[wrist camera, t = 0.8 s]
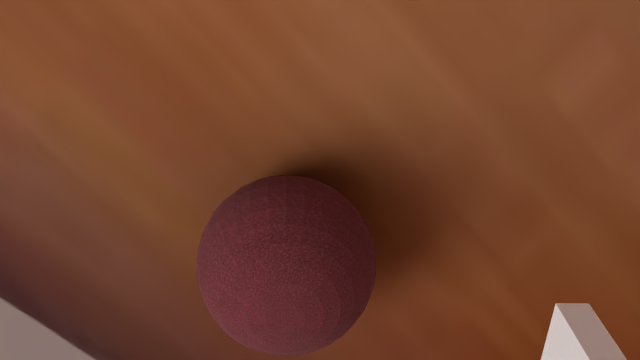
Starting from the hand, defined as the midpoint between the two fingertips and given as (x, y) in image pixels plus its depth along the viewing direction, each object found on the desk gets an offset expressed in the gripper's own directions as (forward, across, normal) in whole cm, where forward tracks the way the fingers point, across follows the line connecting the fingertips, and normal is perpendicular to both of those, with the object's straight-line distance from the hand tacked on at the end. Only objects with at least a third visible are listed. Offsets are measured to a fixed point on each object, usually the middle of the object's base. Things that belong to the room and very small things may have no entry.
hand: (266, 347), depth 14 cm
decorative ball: (+23, 0, -10) cm, 25 cm away
